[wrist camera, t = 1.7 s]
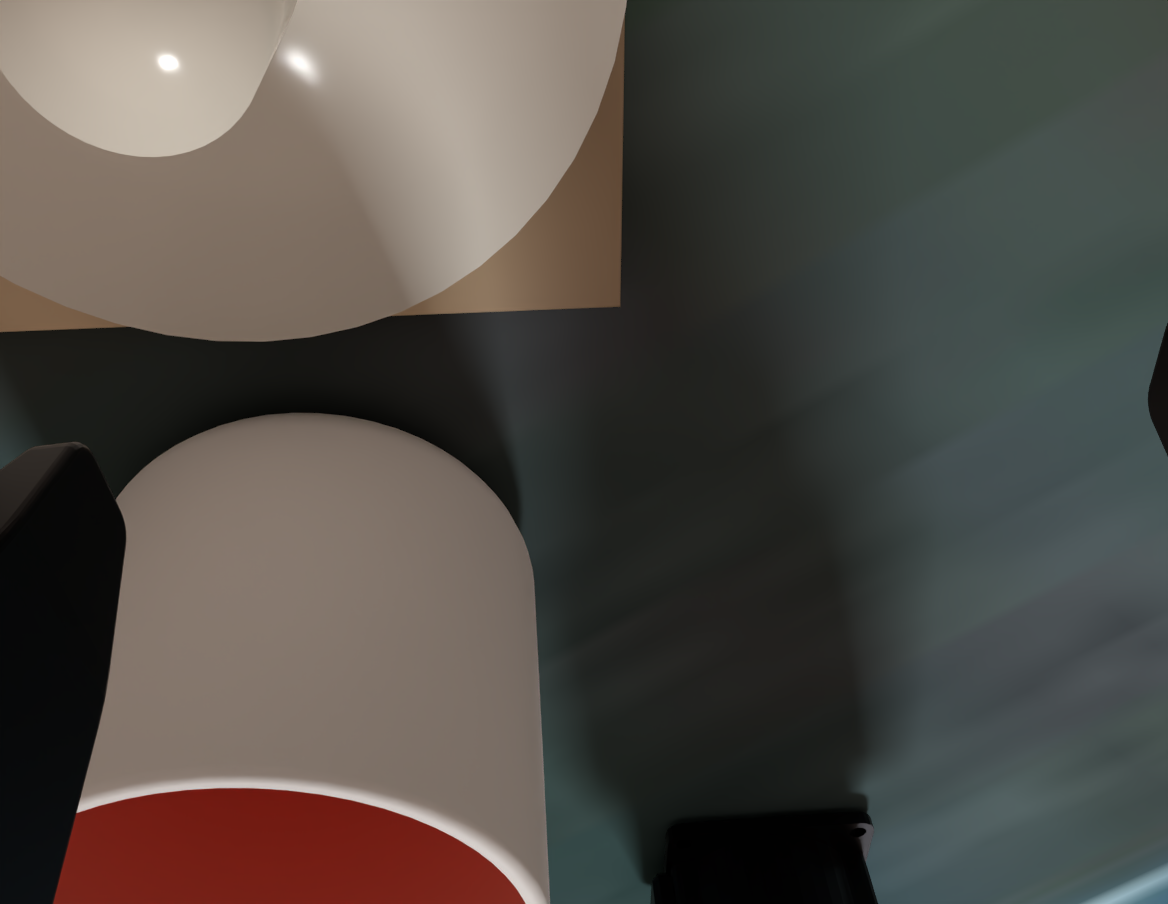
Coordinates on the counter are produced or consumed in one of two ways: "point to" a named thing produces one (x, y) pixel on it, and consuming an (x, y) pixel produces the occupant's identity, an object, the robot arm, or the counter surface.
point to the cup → (316, 681)
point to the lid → (282, 151)
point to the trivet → (516, 271)
